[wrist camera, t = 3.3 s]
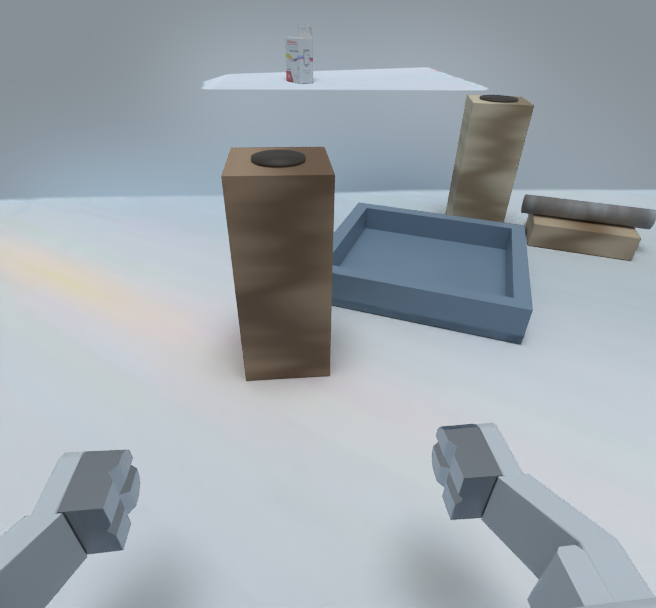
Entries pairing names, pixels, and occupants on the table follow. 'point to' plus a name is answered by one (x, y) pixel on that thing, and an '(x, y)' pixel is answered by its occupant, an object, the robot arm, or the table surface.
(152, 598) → the table surface
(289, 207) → the walnut block
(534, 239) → the gauge rest
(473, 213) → the oak block
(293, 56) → the ink cartridge box
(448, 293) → the tray
